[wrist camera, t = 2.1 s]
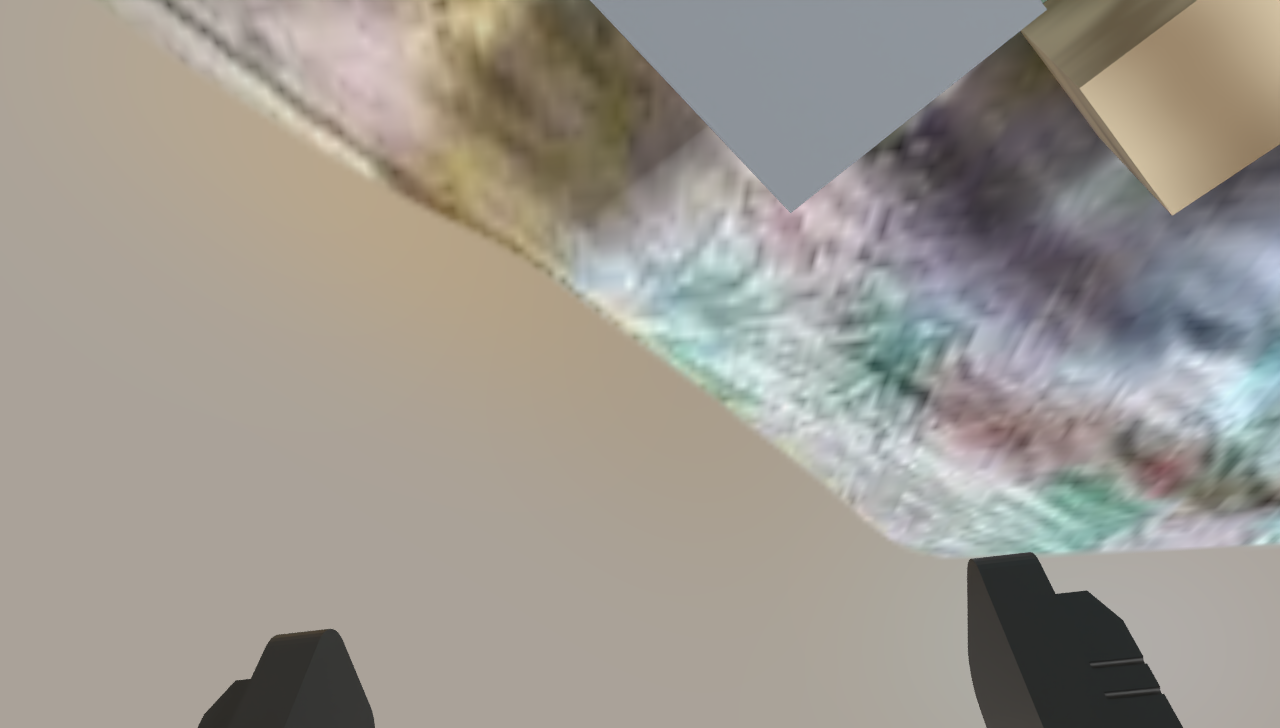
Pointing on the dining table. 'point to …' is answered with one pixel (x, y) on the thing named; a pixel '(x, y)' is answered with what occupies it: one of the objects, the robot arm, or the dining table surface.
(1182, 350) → the dining table surface
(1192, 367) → the dining table surface
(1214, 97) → the oak block
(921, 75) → the tower top
